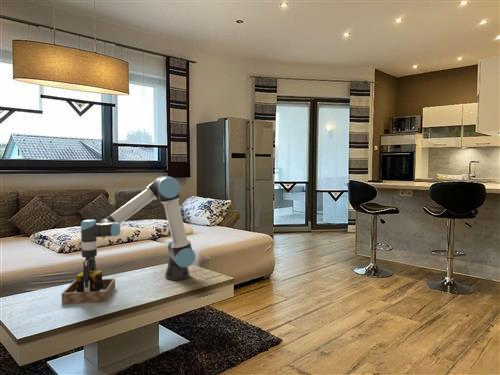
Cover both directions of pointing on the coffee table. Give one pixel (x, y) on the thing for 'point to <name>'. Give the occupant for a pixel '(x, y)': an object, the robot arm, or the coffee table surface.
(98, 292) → the crate
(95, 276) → the candle
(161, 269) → the coffee table surface
